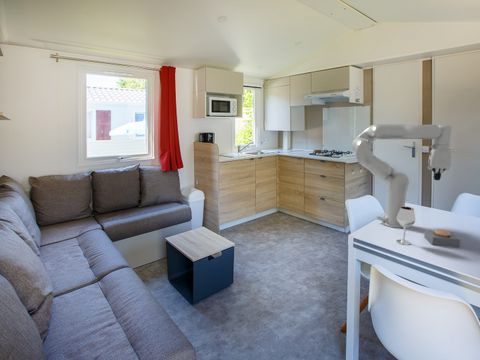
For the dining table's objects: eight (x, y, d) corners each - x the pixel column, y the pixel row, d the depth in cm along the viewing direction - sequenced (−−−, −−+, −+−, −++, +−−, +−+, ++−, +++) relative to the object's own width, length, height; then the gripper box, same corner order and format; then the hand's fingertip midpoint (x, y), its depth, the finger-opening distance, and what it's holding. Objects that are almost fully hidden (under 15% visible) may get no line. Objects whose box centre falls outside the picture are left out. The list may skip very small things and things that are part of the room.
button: (436, 243, 148) (437, 233, 147) (430, 238, 154) (432, 229, 153) (451, 244, 146) (453, 234, 146) (445, 239, 153) (446, 230, 152)
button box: (432, 244, 147) (433, 237, 146) (424, 237, 157) (425, 230, 156) (459, 247, 145) (460, 239, 144) (449, 239, 154) (450, 232, 153)
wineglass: (390, 239, 154) (394, 206, 150) (405, 239, 154) (409, 205, 151) (400, 245, 146) (404, 210, 142) (416, 245, 146) (420, 210, 143)
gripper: (429, 147, 162) (425, 180, 166) (459, 148, 160) (454, 181, 163) (423, 146, 169) (419, 178, 173) (452, 147, 167) (447, 179, 170)
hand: (436, 179), depth 168 cm, fingers closed
